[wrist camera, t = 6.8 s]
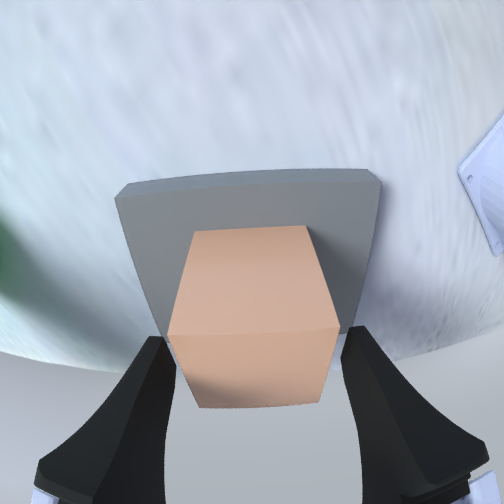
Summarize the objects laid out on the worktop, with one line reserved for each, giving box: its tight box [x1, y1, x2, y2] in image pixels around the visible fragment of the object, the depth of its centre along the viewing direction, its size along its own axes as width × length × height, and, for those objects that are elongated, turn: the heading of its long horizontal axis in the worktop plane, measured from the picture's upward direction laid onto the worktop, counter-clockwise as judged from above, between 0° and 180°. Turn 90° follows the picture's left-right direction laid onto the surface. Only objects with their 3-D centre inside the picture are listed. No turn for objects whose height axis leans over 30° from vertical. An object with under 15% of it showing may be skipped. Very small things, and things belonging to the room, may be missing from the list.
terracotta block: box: [167, 225, 340, 408], centre depth 12 cm, size 5×5×6 cm
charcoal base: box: [114, 169, 381, 343], centre depth 15 cm, size 12×10×2 cm
